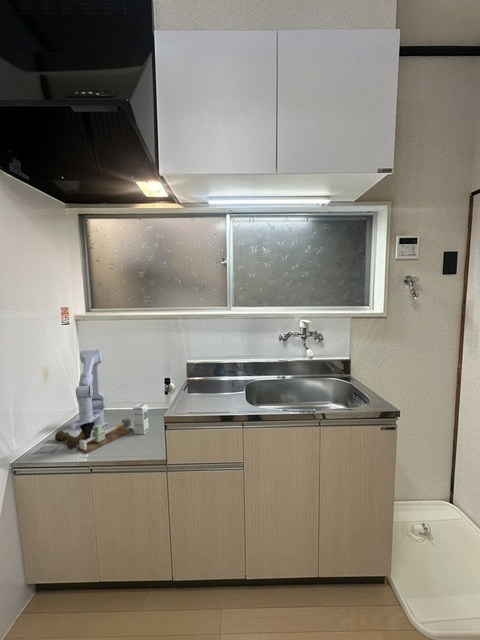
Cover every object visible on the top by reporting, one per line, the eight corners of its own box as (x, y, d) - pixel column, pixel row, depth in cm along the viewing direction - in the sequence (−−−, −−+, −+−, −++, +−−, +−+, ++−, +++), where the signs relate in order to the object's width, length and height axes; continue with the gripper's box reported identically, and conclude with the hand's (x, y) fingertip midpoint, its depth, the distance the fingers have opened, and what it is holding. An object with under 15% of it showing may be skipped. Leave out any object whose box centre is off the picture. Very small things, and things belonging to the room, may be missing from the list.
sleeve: (98, 442, 153) (97, 428, 152) (93, 440, 155) (92, 426, 154) (105, 438, 157) (104, 425, 156) (100, 437, 159) (99, 423, 158)
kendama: (67, 436, 165) (96, 442, 157) (50, 445, 156) (79, 452, 148) (66, 425, 164) (94, 431, 156) (49, 434, 155) (78, 440, 147)
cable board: (86, 453, 146) (86, 451, 146) (76, 449, 150) (76, 447, 150) (133, 430, 169) (133, 428, 169) (123, 427, 173) (123, 425, 173)
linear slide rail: (84, 450, 147) (83, 440, 147) (80, 448, 149) (79, 438, 149) (131, 427, 170) (130, 419, 170) (126, 426, 172) (126, 417, 172)
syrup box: (144, 434, 164) (143, 407, 163) (134, 433, 165) (132, 407, 164) (149, 429, 170) (148, 403, 168) (139, 428, 171) (138, 403, 169)
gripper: (75, 417, 141) (78, 446, 142) (104, 406, 153) (106, 433, 155) (66, 414, 144) (69, 442, 146) (95, 404, 157) (97, 430, 158)
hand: (87, 437), depth 150 cm, fingers closed
